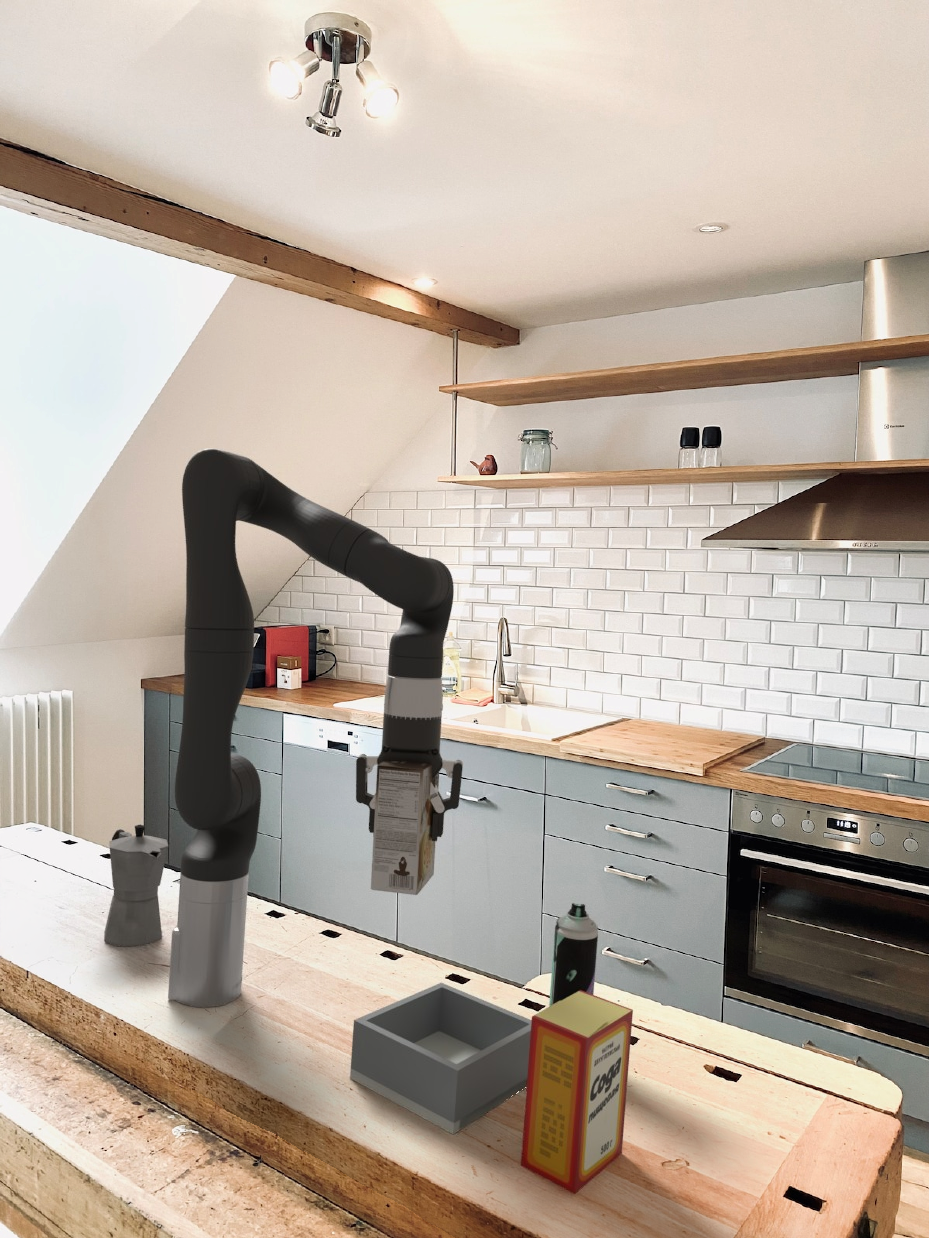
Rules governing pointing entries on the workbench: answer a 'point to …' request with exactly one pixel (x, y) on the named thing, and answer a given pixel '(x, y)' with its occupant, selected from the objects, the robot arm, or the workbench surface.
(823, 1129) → the workbench surface
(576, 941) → the spray can
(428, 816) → the coffee box
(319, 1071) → the workbench surface
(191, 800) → the robot arm
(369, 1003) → the workbench surface
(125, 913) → the coffeepot
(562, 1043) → the baking soda box
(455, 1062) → the tote
